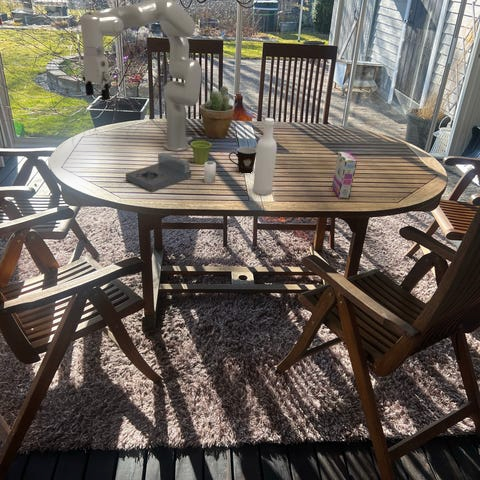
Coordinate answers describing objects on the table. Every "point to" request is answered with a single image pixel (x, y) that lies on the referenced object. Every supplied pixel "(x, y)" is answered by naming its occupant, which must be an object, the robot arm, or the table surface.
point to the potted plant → (217, 114)
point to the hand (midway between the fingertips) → (97, 97)
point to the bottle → (265, 160)
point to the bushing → (209, 172)
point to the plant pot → (200, 151)
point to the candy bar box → (344, 174)
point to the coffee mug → (245, 159)
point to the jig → (160, 173)
